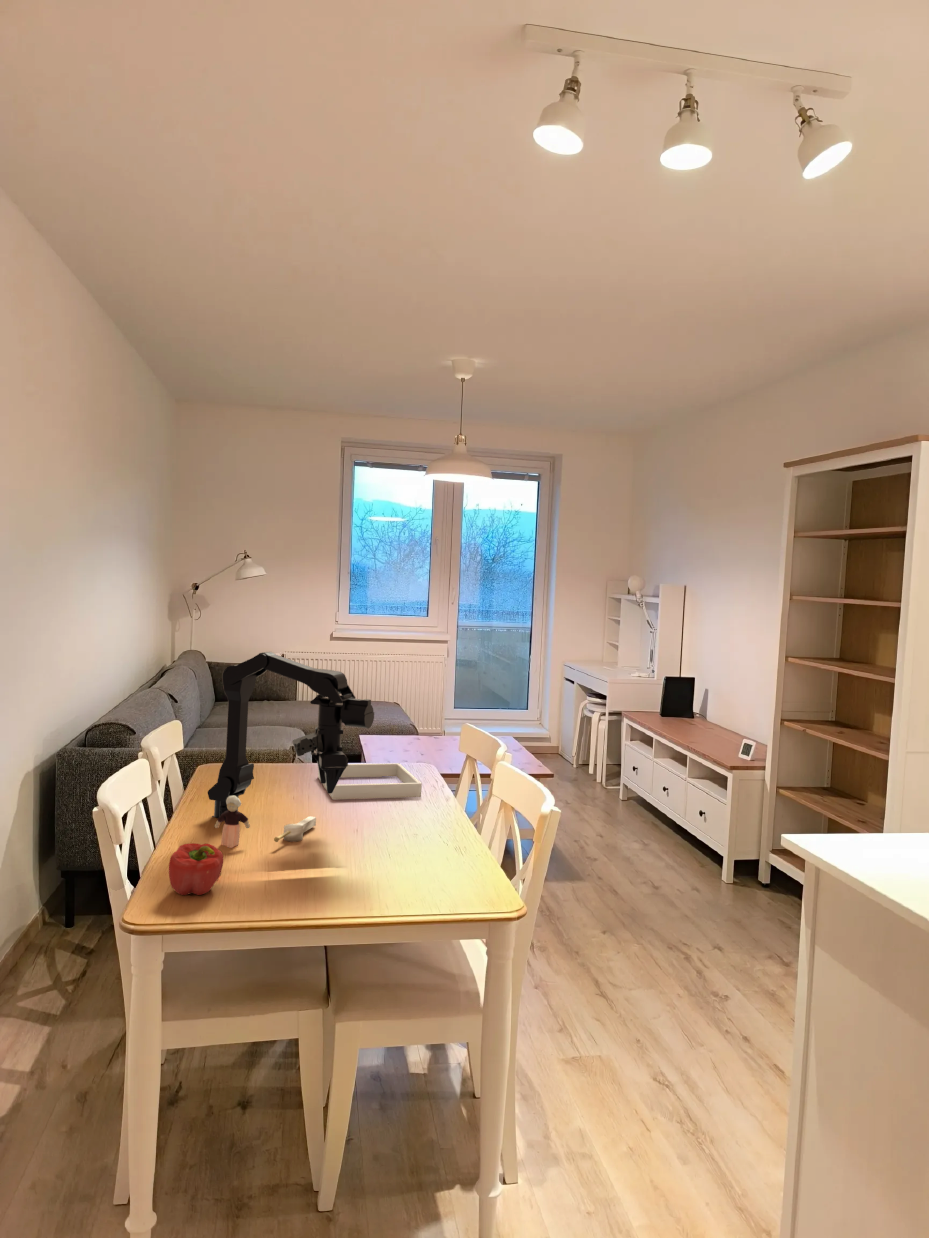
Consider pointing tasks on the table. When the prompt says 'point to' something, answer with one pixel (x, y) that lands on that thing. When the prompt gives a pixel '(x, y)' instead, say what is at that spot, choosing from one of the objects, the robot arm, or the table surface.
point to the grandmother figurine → (232, 822)
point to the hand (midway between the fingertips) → (326, 788)
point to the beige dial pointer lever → (296, 830)
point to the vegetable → (195, 868)
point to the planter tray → (368, 791)
